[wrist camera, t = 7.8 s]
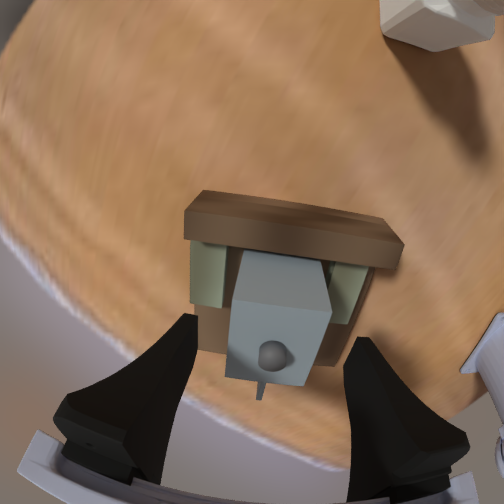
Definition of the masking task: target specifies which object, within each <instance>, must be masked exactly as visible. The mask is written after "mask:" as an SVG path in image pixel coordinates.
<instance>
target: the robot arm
mask: <svg viewBox="0 0 504 504" xmlns="http://www.w3.org/2000/svg"><path fill="white" fill-rule="evenodd" d="M197 350H198V315H192V314H187V313H184V314H183V315H182V316H181V317H180V318H179V319H178V320H177V321H176V323H175V324H174V325H173V326H172V327H171V328H170V329H169V330H168V331H167V332H166V333H165V334H164V335H163V336H162V337H161V338H160V339H159V340H158V341H157V342H156V343H155V344H154V345H152V346H151V347H150V348H149V349H148V350H147V351H145V352H144V353H143V354H142V355H141V356H139V357H138V358H137V359H135V360H134V361H133V362H131V363H130V364H128V365H127V366H126V367H124V368H122V369H121V370H119V371H118V372H116V373H115V374H113V375H111V376H109V377H107V378H105V379H103V380H101V381H99V382H97V383H95V384H93V385H91V386H89V387H86V388H83V389H81V390H78V391H75V392H72V393H69V394H67V396H66V397H65V398H64V400H63V401H62V402H61V404H60V406H59V408H58V410H57V411H56V413H55V415H54V417H53V421H54V423H55V425H56V426H57V428H58V429H59V430H60V431H61V433H62V434H63V435H64V436H65V437H66V438H67V441H66V443H65V445H64V444H63V443H62V442H60V441H59V440H57V439H55V438H54V437H52V436H50V435H48V434H47V433H45V432H43V431H41V430H37V432H36V434H35V435H34V437H33V439H32V441H31V443H30V445H29V447H28V449H27V451H26V453H25V455H24V457H23V459H22V461H21V463H20V465H19V467H18V469H17V472H18V473H19V474H21V475H22V476H24V477H25V478H26V479H28V480H29V481H31V482H32V483H34V484H35V485H37V486H38V487H40V488H41V489H43V490H45V491H46V492H48V493H50V494H51V495H53V496H55V497H57V498H59V499H60V500H62V501H64V502H66V503H67V504H265V503H252V502H243V501H235V500H227V499H221V498H215V497H209V496H203V495H198V494H193V493H188V492H184V491H180V490H176V489H172V488H168V487H164V486H161V485H160V483H161V478H162V472H163V466H164V461H165V456H166V451H167V447H168V442H169V438H170V433H171V429H172V425H173V422H174V418H175V413H176V410H177V407H178V404H179V402H180V399H181V397H182V394H183V392H184V389H185V386H186V384H187V381H188V379H189V376H190V374H191V371H192V368H193V365H194V362H195V358H196V354H197ZM343 372H344V388H345V394H346V400H347V406H348V412H349V419H350V426H351V469H350V482H349V488H348V496H347V501H346V503H335V504H479V501H478V496H477V491H476V487H475V482H474V479H473V474H472V471H468V472H465V473H463V474H460V475H457V476H454V477H452V478H450V479H449V475H448V474H450V473H451V471H452V470H451V465H453V464H454V463H455V462H457V461H458V460H459V459H461V458H462V457H463V456H464V455H466V454H467V452H468V451H469V449H470V445H469V442H468V438H467V435H466V432H464V431H462V430H460V429H459V428H457V427H455V426H454V425H452V424H450V423H449V422H447V421H446V420H444V419H443V418H441V417H440V416H439V415H437V414H436V413H435V412H433V411H432V410H431V409H430V408H429V407H427V406H426V405H425V404H424V403H423V402H422V401H421V400H420V399H419V398H418V397H417V396H416V395H415V394H414V393H413V392H412V391H411V390H410V389H409V388H408V387H407V386H406V385H405V384H404V382H403V381H402V380H401V379H400V378H399V376H398V375H397V374H396V373H395V371H394V370H393V369H392V368H391V366H390V365H389V364H388V362H387V361H386V360H385V358H384V357H383V355H382V354H381V353H380V351H379V350H378V349H377V347H376V346H375V344H374V343H373V342H372V340H371V339H370V338H369V337H357V338H356V341H355V343H354V345H353V347H352V349H351V351H350V353H349V355H348V357H347V359H346V361H345V363H344V365H343ZM460 372H461V374H465V373H474V372H479V373H480V375H481V377H482V379H483V381H484V383H485V385H486V387H487V389H488V392H489V394H490V396H491V398H492V400H493V402H494V405H495V407H496V409H497V411H498V414H499V416H500V418H501V421H502V424H503V425H502V426H501V427H500V428H499V429H498V430H499V433H500V437H499V438H498V440H497V443H496V448H495V461H496V465H497V469H498V471H499V473H500V474H501V476H502V477H503V478H504V313H498V314H497V315H496V316H495V318H494V319H493V321H492V323H491V324H490V326H489V328H488V329H487V331H486V333H485V334H484V336H483V337H482V339H481V340H480V342H479V343H478V345H477V346H476V348H475V349H474V351H473V352H472V354H471V355H470V357H469V358H468V360H467V361H466V362H465V364H464V365H463V366H462V368H461V369H460Z"/></svg>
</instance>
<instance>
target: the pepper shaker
mask: <svg viewBox="0 0 504 504" xmlns="http://www.w3.org/2000/svg"><path fill="white" fill-rule="evenodd" d="M495 15H496V16H500V15H504V0H380V27H381V31H382V34H384V35H385V36H387V37H389V38H392V39H396V40H399V41H402V42H406V43H409V44H412V45H415V46H418V47H421V48H423V49H426V50H429V51H431V52H439V51H443V50H447V49H451V48H455V47H459V46H463V45H468V44H472V43H477V42H482V41H487V40H490V39H491V38H492V36H493V34H494V32H495Z"/></svg>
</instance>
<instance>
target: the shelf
mask: <svg viewBox="0 0 504 504" xmlns="http://www.w3.org/2000/svg"><path fill="white" fill-rule="evenodd" d="M184 239H187V240H191V243H190V303H192V304H195V315H198V350H203V351H209V352H214V353H220V354H226V355H227V347H228V337H229V327H230V316H231V306H232V298H233V294H234V290H235V285H236V281H237V277H238V273H239V269H240V265H241V261H242V256H243V252H244V248H249V249H256V250H263V251H269V252H276V253H283V254H290V255H297V256H304V257H310V258H317V259H320V261H321V265H322V270H323V274H324V278H325V282H326V286H327V291H328V295H329V300H330V304H331V309H332V315H331V317H330V320H329V323H328V326H327V328H326V331H325V334H324V337H323V339H322V342H321V344H320V347H319V350H318V352H317V355H316V357H315V360H314V362H313V365H318V366H332V367H335V364H336V362H337V360H338V358H339V356H340V354H341V352H342V349H343V347H344V345H345V343H346V341H347V338H348V336H349V334H350V331H351V329H352V327H353V324H354V322H355V320H356V317H357V315H358V312H359V310H360V307H361V305H362V302H363V300H364V297H365V295H366V292H367V289H368V287H369V284H370V281H371V279H372V276H373V273H374V270H375V267H378V268H385V269H391V270H396V267H397V265H398V262H399V259H400V256H401V254H402V251H403V248H404V243H403V242H402V241H401V240H400V238H399V237H398V236H397V235H396V234H395V232H394V231H393V230H392V229H391V228H390V226H389V225H388V224H387V223H386V222H385V221H384V219H383V218H378V217H373V216H368V215H363V214H358V213H352V212H347V211H342V210H336V209H331V208H325V207H319V206H313V205H307V204H301V203H295V202H289V201H282V200H275V199H269V198H262V197H255V196H247V195H240V194H232V193H224V192H216V191H207V190H203V191H202V192H201V193H200V194H199V195H198V196H197V197H196V198H195V199H194V201H193V202H192V203H191V204H190V205H189V206H188V207H187V208H186V210H185V212H184Z"/></svg>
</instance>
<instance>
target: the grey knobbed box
mask: <svg viewBox="0 0 504 504" xmlns="http://www.w3.org/2000/svg"><path fill="white" fill-rule="evenodd" d="M331 315H332V309H331V304H330V300H329V295H328V291H327V286H326V282H325V278H324V274H323V270H322V265H321V261H320V259H317V258H310V257H304V256H297V255H290V254H283V253H276V252H269V251H263V250H256V249H249V248H244V252H243V256H242V261H241V265H240V269H239V273H238V277H237V281H236V285H235V290H234V294H233V298H232V306H231V316H230V327H229V337H228V347H227V358H226V369H225V377H229V378H235V379H242V380H249V381H257V382H258V385H257V395H256V400H262V396H263V393H264V389H265V385H266V383H274V384H283V385H294V386H304V384H305V381H306V379H307V377H308V374H309V372H310V369H311V367H312V365H313V362H314V360H315V357H316V355H317V352H318V350H319V347H320V344H321V342H322V339H323V337H324V334H325V331H326V328H327V326H328V323H329V320H330V317H331Z"/></svg>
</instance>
